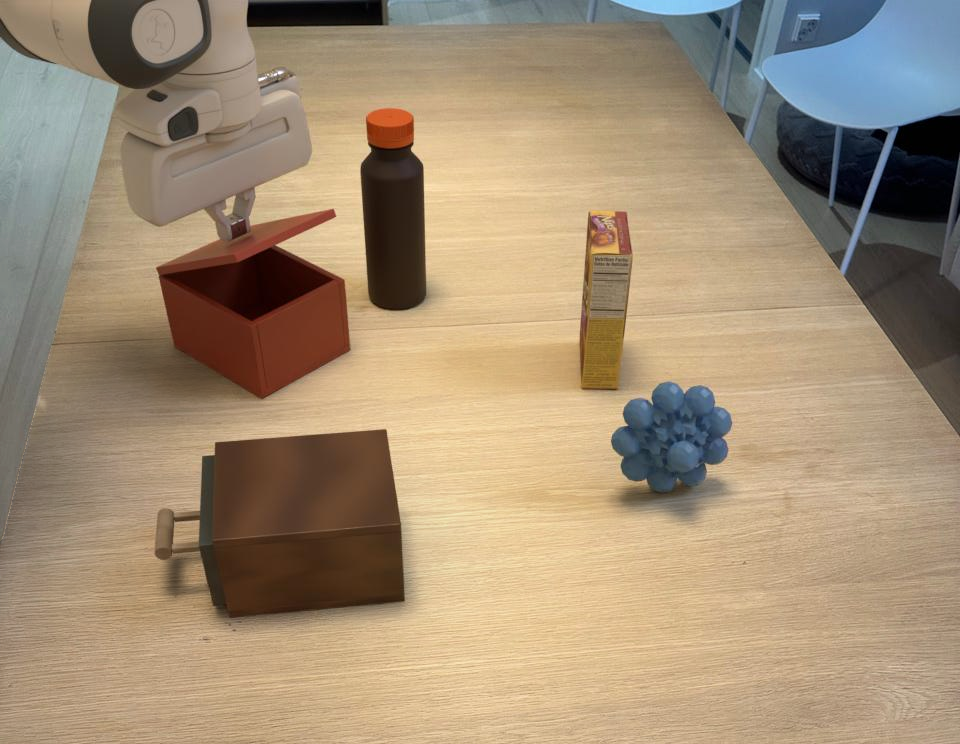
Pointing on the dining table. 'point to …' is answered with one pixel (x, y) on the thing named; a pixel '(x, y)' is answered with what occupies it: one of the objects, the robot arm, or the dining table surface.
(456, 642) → the dining table surface
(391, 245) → the bottle
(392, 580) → the cabinet
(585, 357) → the candy box
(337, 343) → the chest
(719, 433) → the blue knobbed flower
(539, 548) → the dining table surface
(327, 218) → the lid
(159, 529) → the pulled out drawer
